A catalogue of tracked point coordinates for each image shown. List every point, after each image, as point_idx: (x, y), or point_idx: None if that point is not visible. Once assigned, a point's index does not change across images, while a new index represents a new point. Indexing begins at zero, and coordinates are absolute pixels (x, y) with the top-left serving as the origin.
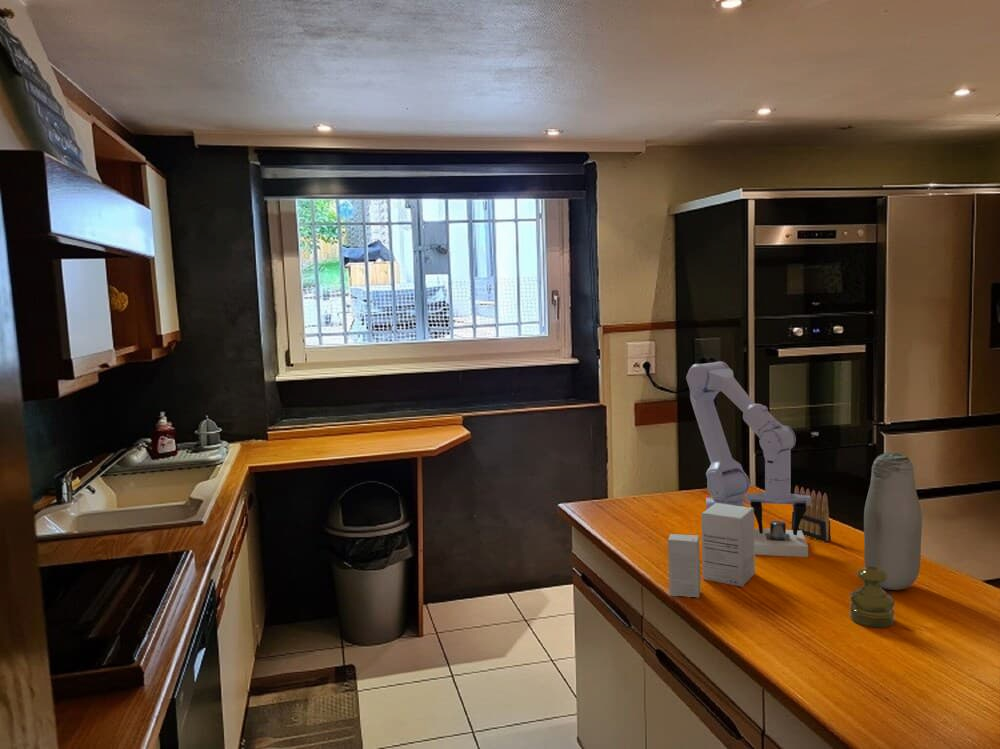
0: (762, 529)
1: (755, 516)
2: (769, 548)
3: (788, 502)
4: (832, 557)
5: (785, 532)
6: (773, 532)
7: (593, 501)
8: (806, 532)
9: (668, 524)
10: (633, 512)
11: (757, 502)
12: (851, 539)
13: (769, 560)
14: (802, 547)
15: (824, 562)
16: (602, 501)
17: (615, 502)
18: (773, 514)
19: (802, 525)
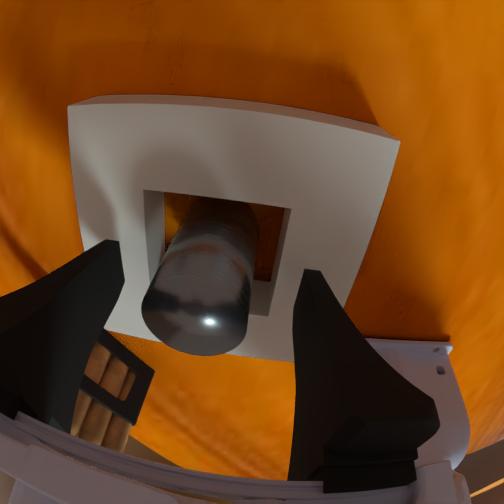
0: (310, 282)
1: (380, 357)
2: (296, 114)
3: (59, 444)
4: (20, 115)
5: (160, 263)
6: (237, 258)
7: (493, 443)
8: (104, 342)
9: (475, 396)
10: (481, 428)
11: (362, 485)
12: (5, 292)
13: (313, 28)
14: (96, 102)
15: (50, 42)
16: (482, 446)
17: (470, 449)
18: (198, 441)
19: (112, 371)
